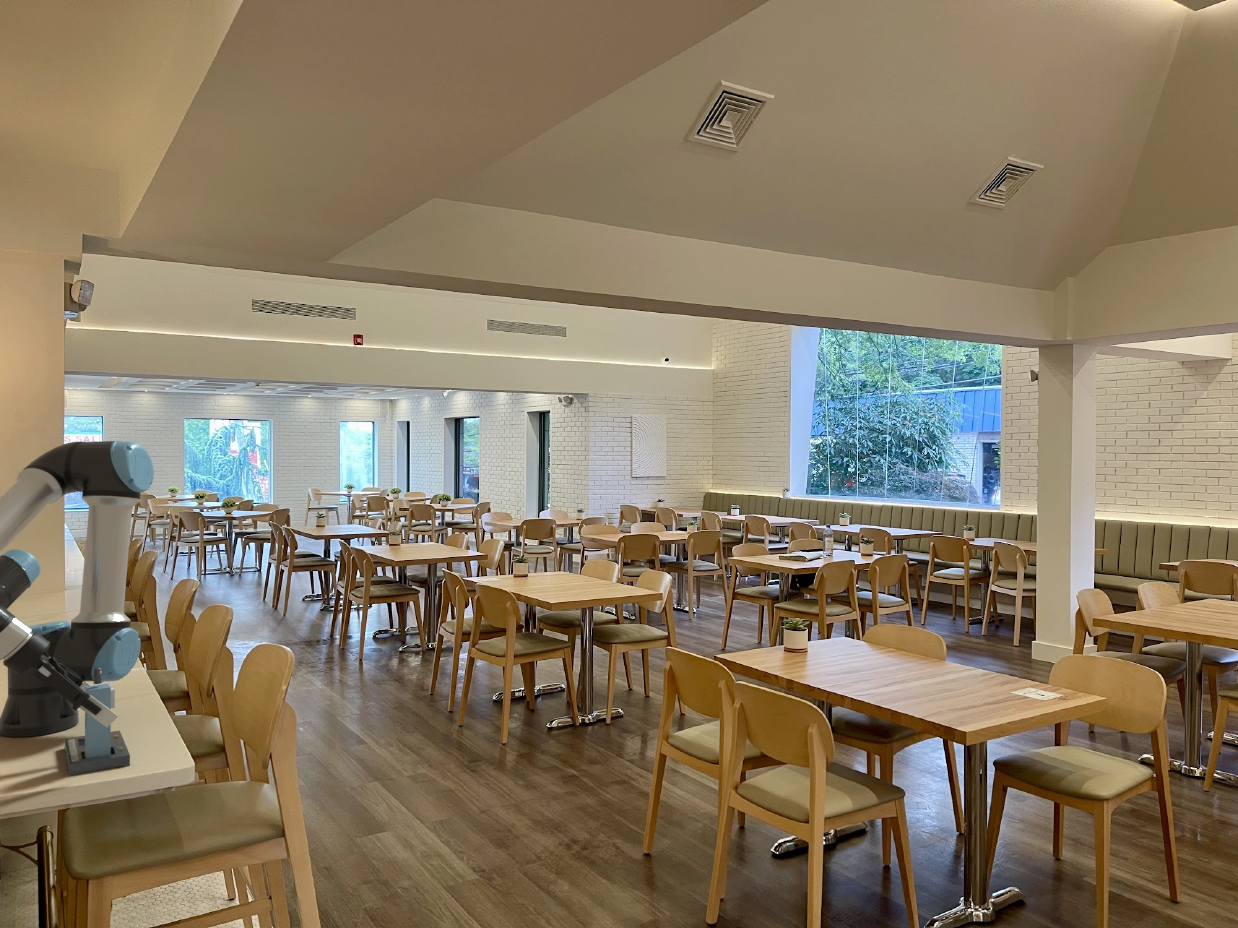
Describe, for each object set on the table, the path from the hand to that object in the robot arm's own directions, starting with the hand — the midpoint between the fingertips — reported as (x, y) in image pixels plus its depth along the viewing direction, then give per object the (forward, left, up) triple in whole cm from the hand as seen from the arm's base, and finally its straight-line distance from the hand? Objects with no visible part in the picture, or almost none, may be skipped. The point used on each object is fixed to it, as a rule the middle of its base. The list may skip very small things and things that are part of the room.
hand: (109, 713), depth 176 cm
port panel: (-5, -2, -9) cm, 11 cm away
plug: (0, -2, -9) cm, 10 cm away
